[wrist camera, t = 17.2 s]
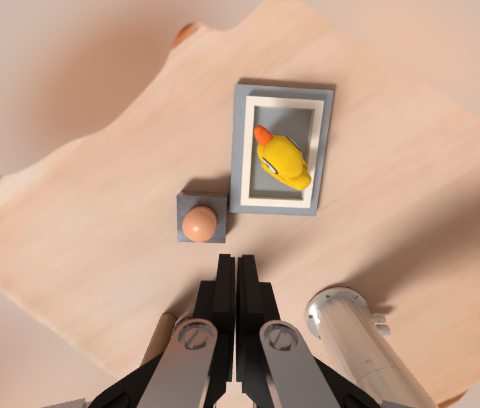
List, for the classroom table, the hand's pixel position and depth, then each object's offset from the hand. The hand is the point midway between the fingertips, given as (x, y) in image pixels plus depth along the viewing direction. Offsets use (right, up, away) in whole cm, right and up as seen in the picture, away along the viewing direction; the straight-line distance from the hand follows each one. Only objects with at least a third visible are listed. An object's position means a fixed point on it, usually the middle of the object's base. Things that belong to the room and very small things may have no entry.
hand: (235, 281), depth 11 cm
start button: (-6, +1, +26) cm, 27 cm away
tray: (+6, +12, +27) cm, 30 cm away
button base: (-6, +2, +29) cm, 30 cm away
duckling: (+6, +11, +26) cm, 29 cm away
